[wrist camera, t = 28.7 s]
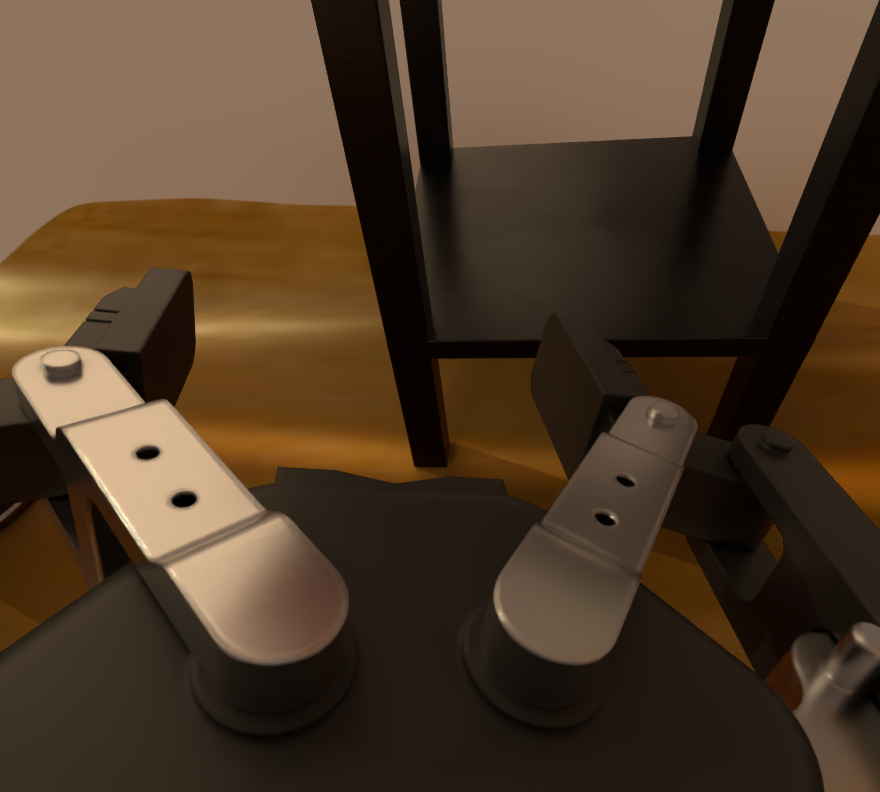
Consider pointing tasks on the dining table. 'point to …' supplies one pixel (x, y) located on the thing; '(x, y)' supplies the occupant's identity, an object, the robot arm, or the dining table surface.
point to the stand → (591, 222)
